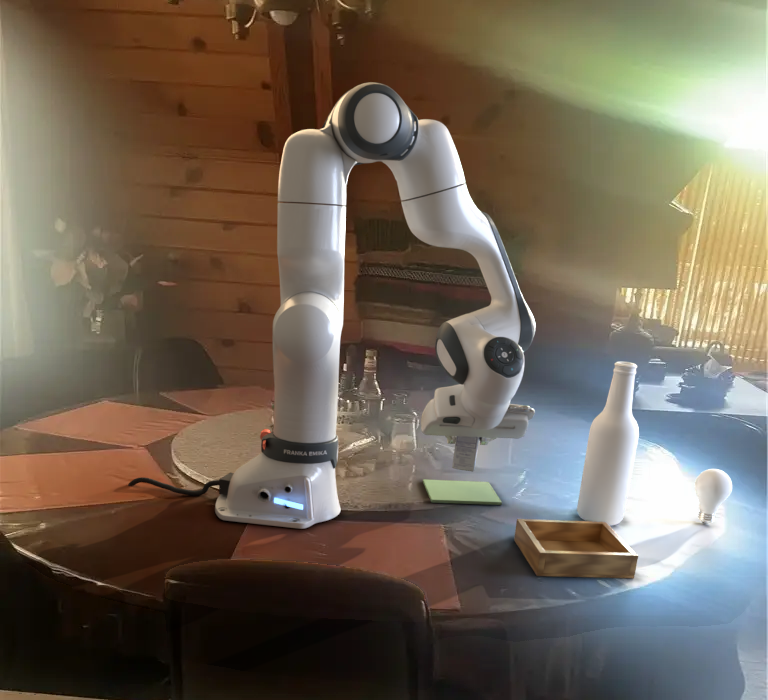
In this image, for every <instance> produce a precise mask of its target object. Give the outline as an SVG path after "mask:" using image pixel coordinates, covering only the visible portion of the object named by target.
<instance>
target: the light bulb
mask: <svg viewBox="0 0 768 700" xmlns="http://www.w3.org/2000/svg"><path fill="white" fill-rule="evenodd" d="M694 491H695V494H696V497H697V499H698V509H699V512H698V516H697V518H698V520H699V521H700V522H701V523H703V524H707V525H708V524H712V523H714V522H715V518H716V514H717V513H718V511H719V508H720V506H721V505H722V504H723V503H724V502H725V501H726V500H727V499H728V498H729V497H730V495H731V494H732V491H733V482H732V479H731V477H730V476H729V475H728V473H726V472H725V471H723V470H722V469H718V468H708V469H706V470H703V471H701V472H700V473H699V474H698V476H697V477H696V478H695V481H694Z"/></svg>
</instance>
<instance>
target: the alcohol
mask: <svg viewBox="0 0 768 700" xmlns="http://www.w3.org/2000/svg"><path fill="white" fill-rule="evenodd" d="M613 365H614V368H613V371H612V372H613V373H612V378H611V382H610V386H609V390H608V394H607V398H606V402H605V406H604V407H603V410H602V411H601V412H599V414H598V415H596V416H595V418H594V419H593V420H592V422H591V425H590V427H589V432H588V438H587V445H586V451H585V456H584V462H583V469H582V475H581V482H580V487H579V494H578V499H577V507H576V512H577V515H578V516H579V517H580V519H582V521H594V522H606V523H607V524H608V525H609V526H610V527H611V526H617V525H619V524H620V523H621V522H622V521H623V520H624V518H625V513H626V509H627V503H628V502H627V501H628V496H629V491H630V486H631V481H632V476H633V469H634V464H635V459H636V454H637V449H638V443H639V437H640V431H639V424H638V422H637V420H636V419H635V417H634V415H633V410H632V409H633V400H634V390H635V389H634V388H635V380H636V379H635V378H636V374H637V368H638V365H637V364H636V363H634V362H630V361H616V362H615V363H614V364H613Z"/></svg>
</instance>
